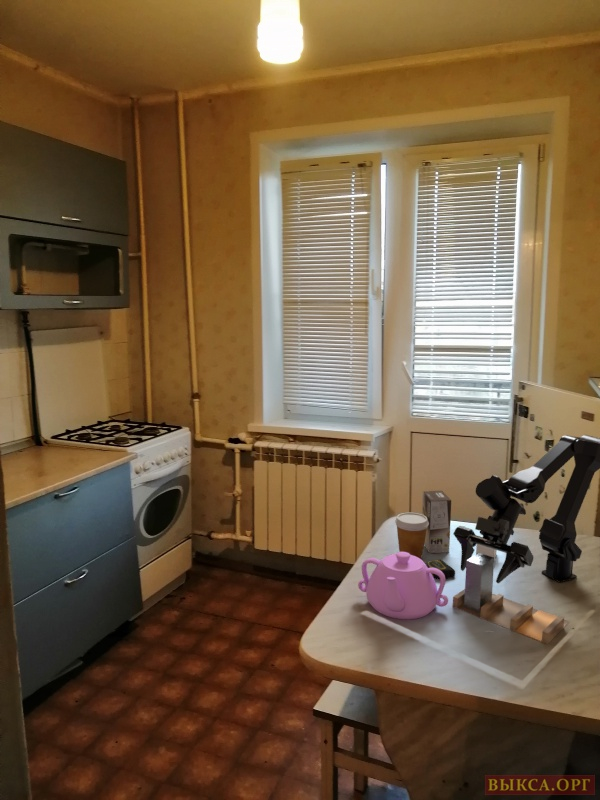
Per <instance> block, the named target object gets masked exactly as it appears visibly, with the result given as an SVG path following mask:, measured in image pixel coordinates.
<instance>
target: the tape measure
mask: <svg viewBox="0 0 600 800" xmlns="http://www.w3.org/2000/svg"><path fill="white" fill-rule="evenodd" d="M425 565H426V566H427V568H437V569H439V570H440V571H442V572H443V574H444V575H445V580H448V579H453V578H454V577H455V576H456V570H455V569H454V568H453V567H452V566H451V565H449V564H448V563H446V562H445V561H444V560H442V559H438V560H430V561H428V562H426V563H425ZM431 574H432V576H433V578H434V580H440V577H439V576H438V575H436V574H434V573H431Z"/></svg>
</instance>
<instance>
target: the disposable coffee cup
mask: <svg viewBox="0 0 600 800" xmlns="http://www.w3.org/2000/svg"><path fill="white" fill-rule="evenodd" d="M394 523H395V525H396V529H397V530H396V532H397V542H398V550H399V551H398V552H407V553H409V554H410V555H413V556H416V557H418V558H420V559H421V560H422V559H423V553H424V547H425V546H424V543H425V537H426V531H427V527H428V525H429V522H428V520H427V517H426V516H424V515H422V513H417V512H404V513H403V512H402V513H399V514H397V516H396V518H395V520H394Z"/></svg>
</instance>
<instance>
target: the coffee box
mask: <svg viewBox="0 0 600 800" xmlns="http://www.w3.org/2000/svg"><path fill="white" fill-rule="evenodd" d="M421 510H422V511H421V512H422V513H421V514H422V515H424V516H426V517H427V520H428V522H429V525H428V527H427V531H426V537H425V543H424V547H425V548H426V550H427V552H428V553H429V554H434V553H435V554H437V553H439V554H440V553H450V545H451V544H450V542H451V541H450V540H451V519H452V500H451V498H450V497H449V496H448V495H447V494H446V493H445V492H444V491H443V490H428V491H426V490H425V491H422V509H421Z"/></svg>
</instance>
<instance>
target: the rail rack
mask: <svg viewBox="0 0 600 800" xmlns="http://www.w3.org/2000/svg"><path fill="white" fill-rule="evenodd" d="M464 599H465V588H464V589H462V590H461V591H459V592H457V594H455V595H453V596H452V608H455V609H457V610H460V611H463V612H464V613H468V614H470V615H473V616H475V617H478V618H479V619H480V618H481V619H483V620H485V621H487V622H491V623H493V624H495V625H498V626H500V627H502V628H505V629H508V630H511V631H512V632H516V633H518V634H520V635H523V636H525V637H528V638H530V639H532V640H536V641H538V642H540V643H542V644H545V645H548V644H549V643H550V642H551V641H552V640H553V639H554V638H555V637H557V635H558V634H559V633H560V632H561V631H562V630H563V629H564V628H565V627H566V626H568V624H569V623H570V621H569V620H566V619H565V616H561V615H556V614H555V615H554V614H552V613H549V612H547V611H543V610H541V609H536V608H534V606H533V605H531V604H528V603H527V605H525V604H522V603H519V602H517V601H515V600H514V601H513V600H511V599H509V598H507V597H506V598H505V597H504V595H503V594H501V593H498V594H494V593H492V599H491V600H490V601H489V602H487V603H486V604H485V605H483V606H482V607H481V613H477V612H475V611H472V610H469V609H467V608H464Z"/></svg>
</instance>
